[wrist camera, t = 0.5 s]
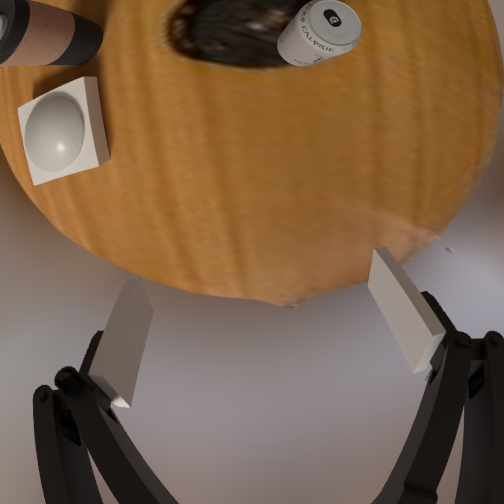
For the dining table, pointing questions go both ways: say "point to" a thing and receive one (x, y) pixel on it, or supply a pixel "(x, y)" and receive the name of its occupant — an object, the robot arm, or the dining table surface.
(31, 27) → the travel mug
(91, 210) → the dining table surface
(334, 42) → the energy drink can
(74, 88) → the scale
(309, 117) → the dining table surface
